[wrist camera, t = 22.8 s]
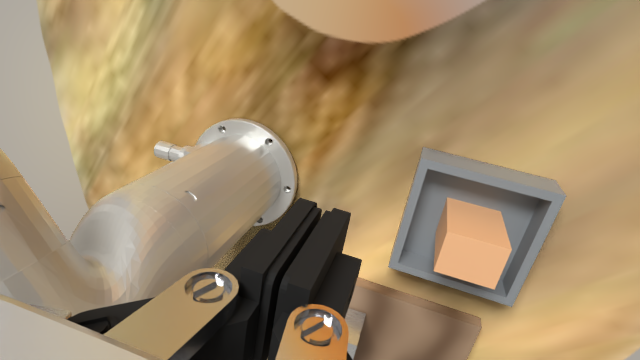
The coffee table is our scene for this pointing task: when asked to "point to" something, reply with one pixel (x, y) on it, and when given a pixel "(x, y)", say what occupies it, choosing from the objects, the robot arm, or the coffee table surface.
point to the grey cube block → (354, 329)
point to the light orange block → (471, 243)
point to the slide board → (410, 326)
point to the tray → (483, 190)
